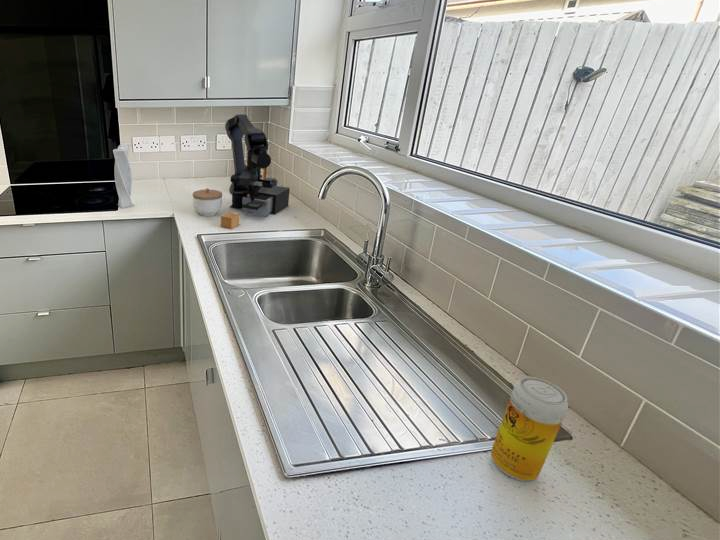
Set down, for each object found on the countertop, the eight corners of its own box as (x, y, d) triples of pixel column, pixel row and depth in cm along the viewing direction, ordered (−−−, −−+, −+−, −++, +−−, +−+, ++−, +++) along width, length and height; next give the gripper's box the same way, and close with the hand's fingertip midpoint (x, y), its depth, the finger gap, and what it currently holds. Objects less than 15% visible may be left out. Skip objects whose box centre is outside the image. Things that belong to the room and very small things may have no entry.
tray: (261, 219, 166) (262, 204, 163) (237, 215, 172) (237, 199, 169) (279, 208, 179) (280, 194, 177) (256, 204, 185) (256, 190, 183)
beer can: (480, 450, 65) (506, 376, 59) (515, 447, 66) (544, 373, 60) (509, 485, 59) (541, 407, 54) (548, 482, 60) (583, 404, 54)
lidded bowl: (192, 209, 182) (191, 185, 178) (220, 208, 183) (220, 184, 179) (193, 218, 170) (193, 193, 166) (223, 217, 171) (224, 192, 167)
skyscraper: (130, 202, 192) (125, 142, 182) (137, 205, 187) (132, 144, 176) (114, 204, 188) (109, 143, 178) (121, 208, 182) (115, 146, 172)
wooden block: (220, 226, 161) (220, 216, 159) (228, 222, 166) (228, 212, 164) (231, 228, 159) (231, 218, 157) (238, 224, 163) (239, 214, 162)
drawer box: (275, 214, 175) (276, 195, 172) (249, 209, 181) (249, 190, 178) (288, 205, 186) (289, 187, 183) (263, 201, 193) (264, 184, 189)
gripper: (223, 164, 161) (223, 201, 166) (266, 169, 151) (264, 209, 157) (237, 159, 169) (236, 195, 175) (278, 164, 160) (276, 202, 166)
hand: (252, 200), depth 168 cm, fingers closed
